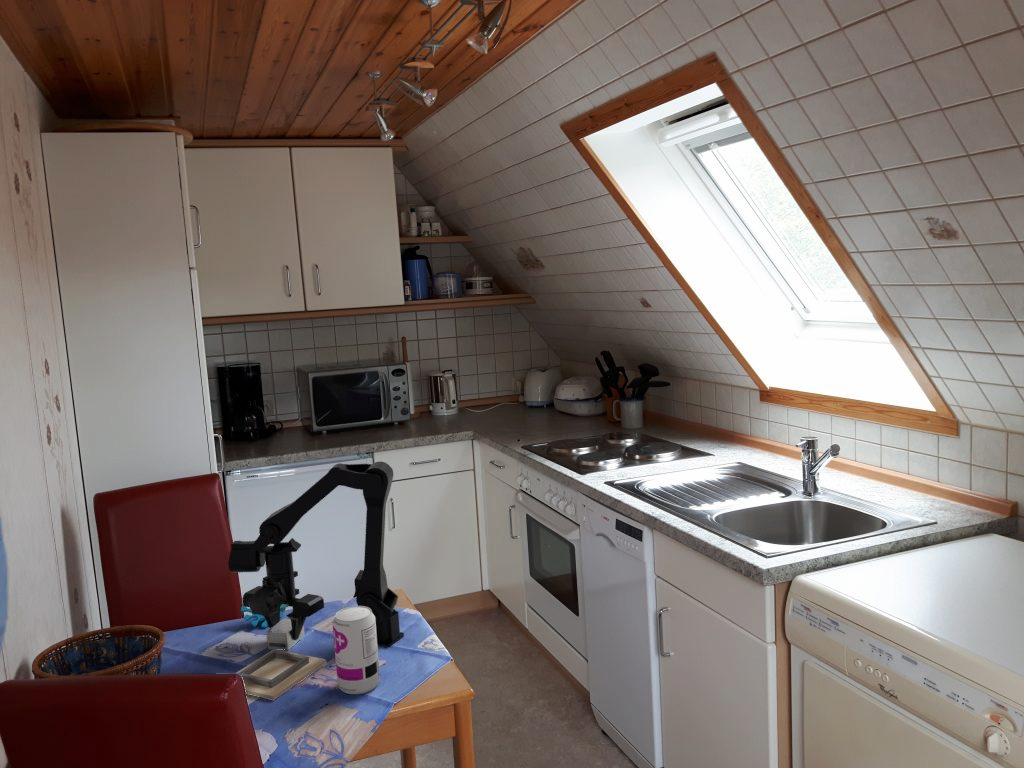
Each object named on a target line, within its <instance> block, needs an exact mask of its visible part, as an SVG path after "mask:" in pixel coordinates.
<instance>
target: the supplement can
mask: <svg viewBox="0 0 1024 768" xmlns="http://www.w3.org/2000/svg"><path fill="white" fill-rule="evenodd" d="M332 632H333V633H332V635H333V644H334V645H333V646H334V656H335V658H334V659H335V669H336V670H335V671H336V682H337V687H338V690H340V691H342V692H343V693H346V694H349V695H361V694H366V693H368V692H371V691H373V690H374V689H375V688H377V685H378V684H379V683H380V681H381V678H380V677H381V675H380V661H379V649H378V648H379V647H378V645H377V634H376V621H375V616H374V614H373V613H372V611H371V609H370V608H368V607H365V606H358V605H353V606H348V607H344V608H342V609H339V610H338V611H336V613H335V615H334V618H333V620H332Z"/></svg>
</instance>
